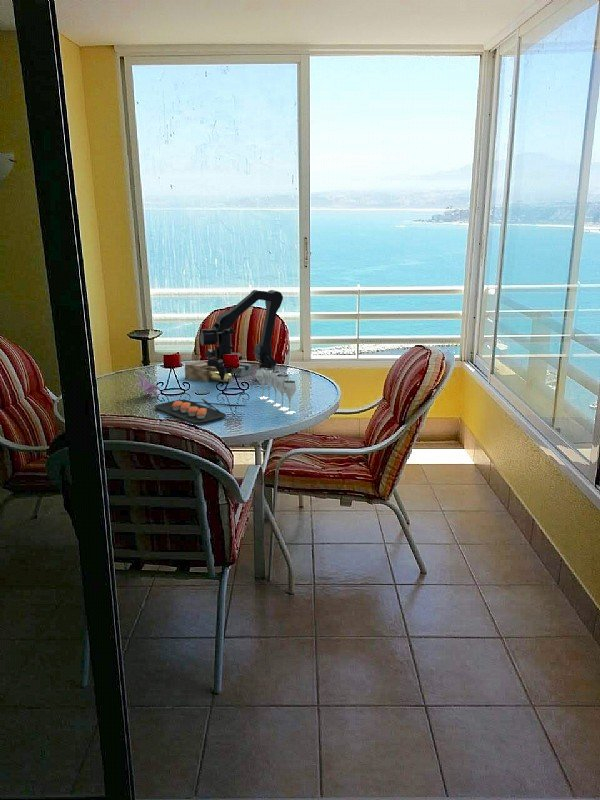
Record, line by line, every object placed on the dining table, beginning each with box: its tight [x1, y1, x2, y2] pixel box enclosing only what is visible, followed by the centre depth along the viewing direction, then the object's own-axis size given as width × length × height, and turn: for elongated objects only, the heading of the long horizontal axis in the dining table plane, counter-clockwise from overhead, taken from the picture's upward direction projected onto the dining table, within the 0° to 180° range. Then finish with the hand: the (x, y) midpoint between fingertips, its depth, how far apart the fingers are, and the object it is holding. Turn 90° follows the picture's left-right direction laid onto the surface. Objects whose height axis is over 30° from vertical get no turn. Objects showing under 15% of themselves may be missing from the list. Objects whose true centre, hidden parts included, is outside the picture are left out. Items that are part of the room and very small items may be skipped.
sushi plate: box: [154, 398, 247, 424], centre depth 239 cm, size 29×30×4 cm
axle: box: [209, 371, 233, 384], centre depth 281 cm, size 16×4×4 cm, turn 61°
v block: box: [217, 362, 254, 378], centre depth 295 cm, size 14×10×4 cm
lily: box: [134, 373, 161, 400], centre depth 253 cm, size 12×12×10 cm
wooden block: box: [184, 360, 217, 383], centre depth 284 cm, size 12×8×6 cm, turn 62°
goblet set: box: [255, 367, 297, 415], centre depth 245 cm, size 28×6×13 cm, turn 29°
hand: (225, 378), depth 279 cm, fingers closed on axle, 4 cm apart
